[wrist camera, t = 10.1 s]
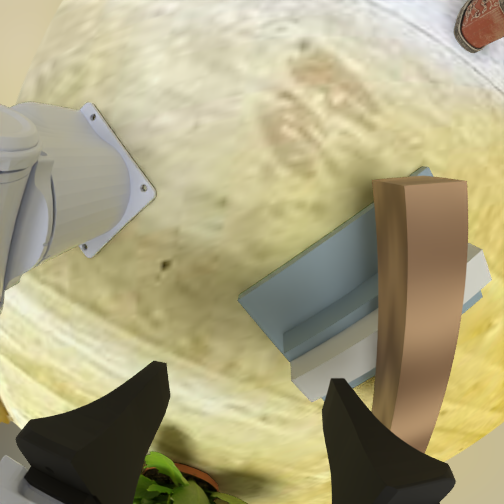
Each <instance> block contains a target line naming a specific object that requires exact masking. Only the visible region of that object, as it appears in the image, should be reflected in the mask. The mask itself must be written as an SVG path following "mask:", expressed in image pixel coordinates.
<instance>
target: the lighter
mask: <svg viewBox="0 0 504 504" xmlns="http://www.w3.org/2000/svg"><path fill="white" fill-rule="evenodd" d="M454 35H455V38H456V39H457V41H458V43H459V44H460V45H461V46H462V47H463V48H464V49H465V50H466V51H468V52H470V53H476V52H478V51H480V50H482V49H483V48H484V47H485V46H486V45H487V44H489V43H491V42H493V41H495V40H498V39H500V38H502V37H504V0H469V1H467V2H466V3H465V5H464V6H463V7H462V8H461V10H460V12H459V14H458V17H457V19H456V24H455V28H454Z"/></svg>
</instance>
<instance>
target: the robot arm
mask: <svg viewBox="0 0 504 504" xmlns="http://www.w3.org/2000/svg"><path fill="white" fill-rule="evenodd" d="M94 115H96V118H95V120H93V116H94ZM143 185H146V186H147V190H146V192H145V191H143V189H142V188H143ZM155 197H156V190H155V189H154V187H153V186H152V185H151V183H150V182H149V181H148V179H147V178H146V176H145V175H144V174H143V172H142V171H141V170H140V168H139V167H138V166H137V164H136V163H135V162H134V160H133V159H132V157H131V156H130V155H129V153H128V152H127V151H126V149H125V148H124V146H123V145H122V144H121V142H120V141H119V139H118V138H117V137H116V135H115V134H114V132H113V131H112V130H111V128H110V127H109V125H108V124H107V123H106V121H105V120H104V118H103V117H102V116H101V114H100V113H99V111H98V110H97V108H96V107H95V105H94V104H93V103H89V102H88V103H86V104H84V105H83V107H82V108H81V109H80V110H76V109H71V108H66V107H60V106H55V105H49V104H44V103H38V102H24V103H20V104H17V105H14V106H12V107H10V108H9V107H7V106H4V105H1V104H0V314H1V312H2V309H3V304H4V292H5V291H4V290H7V289H9V288H11V287H12V286H14V285H16V284H18V283H19V281H20V278H21V276H22V274H23V273H25V272H27V271H29V270H31V269H33V268H34V267H36V266H38V265H40V264H42V263H44V262H46V261H48V260H50V259H52V258H54V257H56V256H58V255H60V254H62V253H64V252H66V251H68V250H70V249H72V248H74V247H76V246H79V247H80V249H81V250H82V252H83V253H84V254H85V256H86V257H88V258H92V257H93V256H95V255H96V254H97V253H98V252H99V251H100V250H101V249H102V248H103V247H104V246H105V245H106V244H107V243H108V242H109V241H110V240H111V239H112V238H113V237H114V236H115V235H116V234H117V233H118V232H119V231H120V230H121V229H122V228H123V227H124V226H125V225H126V224H127V223H128V222H129V221H130V220H132V219H133V218H134V217H135V216H136V215H137V214H138V213H139V212H140V211H141V210H142V209H143V208H145V207H146V206H147V205H148V204H149V203H150V202H151V201H152V200H153V199H154V198H155ZM85 244H86V245H87V249H86V247H85ZM169 399H170V389H169V381H168V373H167V364H166V363H163V362H158V361H153V362H151V363H150V364H149V365H147V366H146V367H145V368H144V369H142V370H141V371H140V372H138V373H137V374H136V375H135V376H133V377H132V378H131V379H129V380H128V381H126V382H125V383H124V384H122V385H121V386H119V387H118V388H116V389H115V390H113V391H112V392H110V393H109V394H107V395H105V396H103V397H102V398H100V399H98V400H96V401H94V402H92V403H90V404H87V405H85V406H82V407H80V408H77V409H75V410H72V411H69V412H66V413H62V414H59V415H55V416H50V417H45V418H38V419H31V420H30V421H29V422H28V423H27V424H26V426H25V427H24V428H23V429H22V430H21V432H20V433H19V434H18V436H17V437H16V443H17V446H18V447H19V449H20V451H21V452H22V454H23V455H24V456H25V458H26V459H27V461H28V462H29V463H30V465H31V467H30V469H29V470H27V469H26V468H25V467H24V466H22V465H21V464H19V463H18V462H16V461H15V460H13V459H12V458H10V457H8V456H7V455H5V456H4V457H3V458H2V460H1V461H0V504H133V500H134V496H135V492H136V488H137V484H138V480H139V477H140V473H141V470H142V467H143V463H144V460H145V457H146V454H147V452H148V449H149V447H150V445H151V443H152V441H153V439H154V437H155V434H156V432H157V430H158V428H159V426H160V424H161V422H162V419H163V417H164V415H165V412H166V409H167V406H168V402H169ZM322 420H323V432H324V437H325V443H326V448H327V453H328V459H329V464H330V471H331V483H332V504H440V503H439V502H440V501H441V500H442V499H443V498H444V497H445V496H446V495H447V494H448V493H449V492H450V491H451V490H452V488H453V487H454V485H455V478H454V476H453V473H452V471H451V469H450V467H449V465H448V464H447V463H444V462H442V461H439V460H437V459H435V458H432V457H430V456H428V455H426V454H424V453H422V452H420V451H419V450H417V449H415V448H414V447H412V446H410V445H409V444H407V443H406V442H404V441H403V440H402V439H400V438H399V437H397V436H396V435H395V434H394V433H393V432H391V431H390V430H389V429H388V428H387V427H386V426H384V425H383V424H382V423H381V422H380V421H379V420H378V419H377V418H376V417H375V416H374V414H373V413H372V412H371V411H370V410H369V409H368V408H367V406H366V405H365V404H364V403H363V402H362V400H361V399H360V398H359V397H358V395H357V394H356V393H355V391H354V390H353V389H352V388H351V386H350V385H349V384H348V382H347V381H346V380H345V378H331V380H330V383H329V387H328V391H327V395H326V398H325V402H324V405H323V409H322Z"/></svg>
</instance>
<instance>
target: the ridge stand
mask: <svg viewBox="0 0 504 504" xmlns="http://www.w3.org/2000/svg"><path fill="white" fill-rule="evenodd" d="M411 176H432V177H433V175H432V173H431V171H430V169H429V167H421V168H419V169H418V170H417V171H415V172H414V173H413V174H411V175H410V176H409V177H411ZM491 280H492V279H491V275H490V272H489V269H488V266H487V262H486V259H485V256H484V253H483V250H482V249H480V248H478V247H476V246H474V245H472V244H470V243H468V252H467V269H466V281H465V291H464V300H463V308H462V314H463V313H464V312H465V311H467V310H468V309H469V308H470V307H471V306H473V305H474V304H475V303H476V302H477V301H478V300H480V299H481V298H482V293H481V289H482V288H483V287H484V286H485V285H487V284H488V283H489V282H490V281H491ZM238 302H239V303H240V304H241V305H242V307H243V308H244V309H245V310H246V311H247V313H248V314H249V315H250V316H251V317H252V319H253V320H254V321H255V322H256V323H257V325H258V326H259V327H260V328H261V329H262V330H263V332H264V333H265V334H266V335H267V336H268V338H269V339H270V340H271V341H272V342H273V343H274V345H275V346H276V347H277V348H278V349H279V350H280V352H281V353H282V354H283V355H284V356H285V357H286V358H287V360H288V361H289V362H290V365H291V381H292V382H293V383H294V384H295V385H296V386H297V387H298V389H299V390H300V391H301V392H302V393H303V394H304V395H305V396H306V397H307V398H308V399H309V400H310V401H311V402H314V401H316V400H318V399H320V398H322V399H323V400H324V401H325V398H326V395H327V391H328V387H329V383H330V380H331V378H345V380H346V381H347V382H348V384H349V385H350V386H351V388H354V387H356V386H358V385H359V384H361V383H363V382H365V381H366V380H368V379H370V378H371V377H373V376H375V373H376V358H377V339H378V254H377V235H376V220H375V208H374V202H373V203H371V204H370V205H369V206H367V207H366V208H364V209H363V210H362V211H360V212H359V213H357V214H356V215H355V216H353V217H352V218H350V219H349V220H348V221H346V222H345V223H343V224H342V225H340V226H339V227H338V228H336V229H335V230H333V231H332V232H331V233H329V234H328V235H326V236H325V237H323V238H322V239H320V240H319V241H318V242H316V243H315V244H313V245H312V246H310V247H309V248H307V249H306V250H305V251H303V252H302V253H300V254H299V255H297V256H296V257H294V258H293V259H291V260H290V261H289V262H287V263H286V264H284V265H283V266H281V267H280V268H278V269H277V270H275V271H274V272H272V273H271V274H269V275H268V276H266V277H265V278H263V279H262V280H261V281H259V282H258V283H256V284H255V285H253V286H252V287H250V288H249V289H247V290H246V291H244V292H243V293H241V294H240V295H239V297H238Z"/></svg>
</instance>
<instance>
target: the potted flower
mask: <svg viewBox="0 0 504 504" xmlns="http://www.w3.org/2000/svg"><path fill="white" fill-rule="evenodd" d="M150 453H151V454H150V455H147V456H146V457H145V460H144V461H146V464H148V465H146V466H145V467H144V468H146V469H145V471H144V472H143V474H142V473H140V477H139V480H138V484H137V488H136V492H135V496H134V500H133V504H216V503H215V502H213V501H215V500H216V499H217V498H218V499H221V500H224V501H227V502H228V503H229V504H248V503H246V502H244V501H242V500H241V499H239V498H236V497H234V496H231V495H228V494H225V493H221V492H218V485H217V483H216V482H215V481H214V480H213V479H212V478H211V477H210V476H209V475H208V474H206V473H204V472H202V471H200V470H197V469H194V468H192V467H189V466H187V465H183V464H178V463H173V461H172V460H171V459H169V458H168V457H166V456H165V455H163V454H161V453H158V452H154V451H152V452H150Z"/></svg>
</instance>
